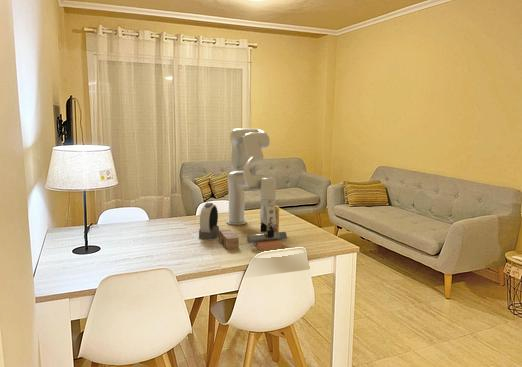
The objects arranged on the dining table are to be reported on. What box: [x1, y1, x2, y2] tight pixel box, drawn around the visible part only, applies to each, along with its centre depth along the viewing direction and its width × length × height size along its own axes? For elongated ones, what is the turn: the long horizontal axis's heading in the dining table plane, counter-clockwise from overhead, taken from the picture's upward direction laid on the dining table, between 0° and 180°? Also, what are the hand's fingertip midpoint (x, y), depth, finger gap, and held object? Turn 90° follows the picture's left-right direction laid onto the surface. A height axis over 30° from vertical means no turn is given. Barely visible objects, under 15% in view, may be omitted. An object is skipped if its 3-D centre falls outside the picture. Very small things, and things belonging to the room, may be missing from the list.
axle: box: [246, 231, 288, 244], centre depth 202 cm, size 20×4×4 cm, turn 110°
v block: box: [252, 240, 282, 251], centre depth 203 cm, size 9×12×3 cm
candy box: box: [262, 204, 280, 234], centre depth 225 cm, size 9×4×15 cm, turn 107°
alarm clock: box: [198, 202, 220, 241], centre depth 217 cm, size 16×10×18 cm, turn 168°
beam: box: [218, 228, 240, 250], centre depth 205 cm, size 16×6×6 cm, turn 21°
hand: (267, 234), depth 203 cm, fingers open, 9 cm apart
